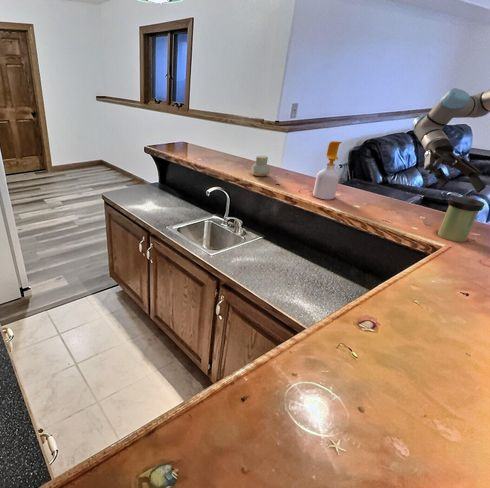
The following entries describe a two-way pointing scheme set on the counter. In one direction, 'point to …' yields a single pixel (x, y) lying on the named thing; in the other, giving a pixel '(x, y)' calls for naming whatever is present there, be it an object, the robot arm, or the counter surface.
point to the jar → (457, 224)
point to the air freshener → (260, 166)
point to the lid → (466, 203)
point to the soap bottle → (328, 175)
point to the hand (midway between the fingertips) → (463, 186)
